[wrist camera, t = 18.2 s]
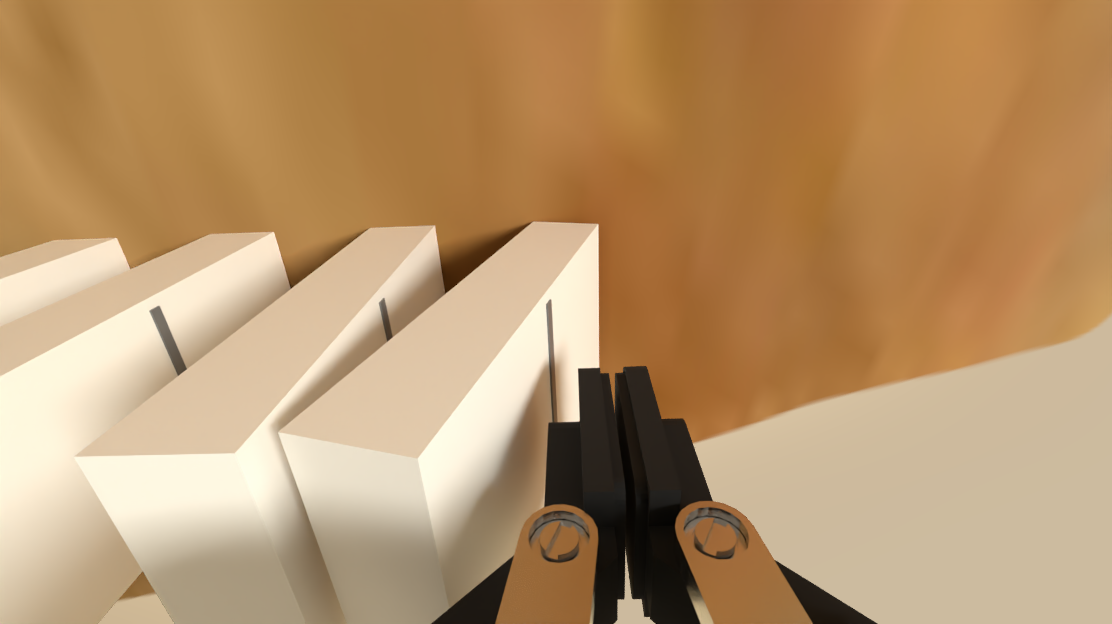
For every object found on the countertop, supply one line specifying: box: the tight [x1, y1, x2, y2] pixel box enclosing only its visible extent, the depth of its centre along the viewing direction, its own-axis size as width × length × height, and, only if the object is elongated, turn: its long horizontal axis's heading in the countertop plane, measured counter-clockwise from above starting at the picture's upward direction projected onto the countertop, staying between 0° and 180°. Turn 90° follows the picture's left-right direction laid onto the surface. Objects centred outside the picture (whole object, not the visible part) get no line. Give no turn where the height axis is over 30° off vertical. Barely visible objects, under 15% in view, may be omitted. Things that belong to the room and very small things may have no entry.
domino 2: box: [74, 226, 445, 624], centre depth 14 cm, size 2×6×12 cm, turn 2°
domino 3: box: [278, 222, 599, 624], centre depth 14 cm, size 2×6×12 cm, turn 1°
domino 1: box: [0, 232, 291, 624], centre depth 14 cm, size 2×6×12 cm, turn 2°
